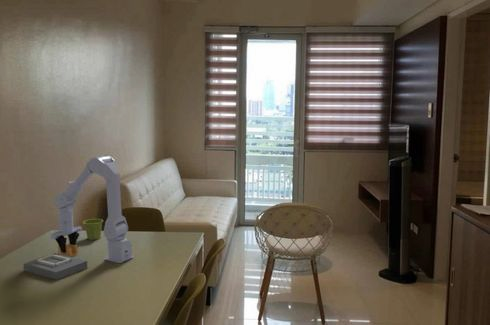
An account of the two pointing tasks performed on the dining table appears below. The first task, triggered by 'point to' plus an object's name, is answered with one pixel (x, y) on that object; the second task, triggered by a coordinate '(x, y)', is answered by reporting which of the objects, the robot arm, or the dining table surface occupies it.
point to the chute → (69, 250)
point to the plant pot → (93, 228)
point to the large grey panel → (55, 266)
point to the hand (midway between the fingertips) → (68, 250)
